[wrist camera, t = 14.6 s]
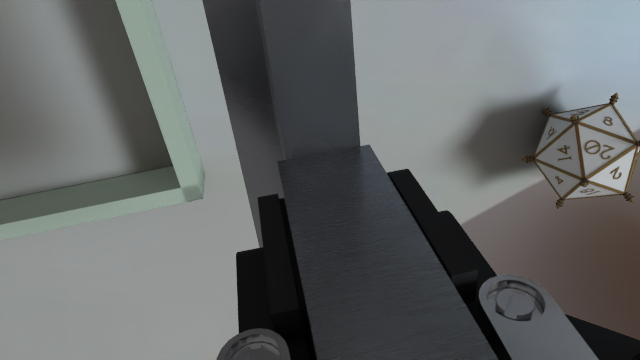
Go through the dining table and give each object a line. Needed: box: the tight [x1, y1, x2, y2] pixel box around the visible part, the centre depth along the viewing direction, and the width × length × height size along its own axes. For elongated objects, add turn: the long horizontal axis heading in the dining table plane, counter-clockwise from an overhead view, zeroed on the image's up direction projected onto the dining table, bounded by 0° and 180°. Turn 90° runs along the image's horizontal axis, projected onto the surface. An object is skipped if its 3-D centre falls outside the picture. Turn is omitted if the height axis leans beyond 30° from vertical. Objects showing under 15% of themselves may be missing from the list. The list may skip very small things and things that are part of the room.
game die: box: [522, 93, 640, 209], centre depth 36 cm, size 9×8×10 cm
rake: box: [203, 0, 498, 360], centre depth 13 cm, size 4×14×13 cm, turn 6°
